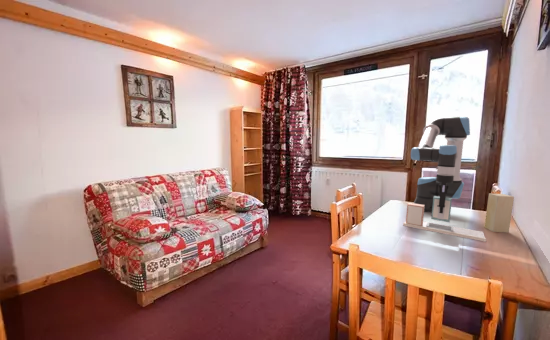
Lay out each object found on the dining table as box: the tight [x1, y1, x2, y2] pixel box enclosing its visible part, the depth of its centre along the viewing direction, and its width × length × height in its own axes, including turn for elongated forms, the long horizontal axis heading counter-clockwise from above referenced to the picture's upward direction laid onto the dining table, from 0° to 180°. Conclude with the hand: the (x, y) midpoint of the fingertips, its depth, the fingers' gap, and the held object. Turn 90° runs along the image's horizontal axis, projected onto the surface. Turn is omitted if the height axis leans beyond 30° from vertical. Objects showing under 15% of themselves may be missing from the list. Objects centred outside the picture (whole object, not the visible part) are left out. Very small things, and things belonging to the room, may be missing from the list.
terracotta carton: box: [405, 202, 425, 226], centre depth 140 cm, size 5×8×12 cm, turn 54°
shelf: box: [402, 220, 487, 243], centre depth 136 cm, size 16×36×4 cm, turn 54°
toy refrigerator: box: [484, 193, 515, 233], centre depth 134 cm, size 8×7×21 cm
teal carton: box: [431, 196, 453, 223], centre depth 132 cm, size 5×8×12 cm, turn 54°
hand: (440, 217), depth 133 cm, fingers closed on teal carton, 5 cm apart
